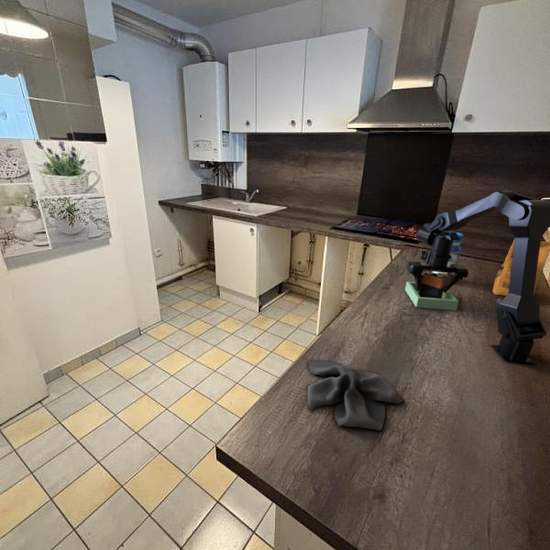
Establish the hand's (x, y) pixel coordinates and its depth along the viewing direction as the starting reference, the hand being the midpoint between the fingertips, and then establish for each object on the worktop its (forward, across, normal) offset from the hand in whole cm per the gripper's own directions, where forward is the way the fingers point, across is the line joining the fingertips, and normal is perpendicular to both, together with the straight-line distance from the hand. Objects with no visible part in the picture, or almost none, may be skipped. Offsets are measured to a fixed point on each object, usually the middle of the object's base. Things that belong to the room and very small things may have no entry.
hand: (430, 291), depth 105 cm
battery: (+3, 0, 0) cm, 3 cm away
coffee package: (+4, -33, -10) cm, 35 cm away
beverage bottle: (+4, -12, -21) cm, 25 cm away
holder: (+3, 0, 0) cm, 3 cm away
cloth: (+4, +34, +50) cm, 61 cm away
